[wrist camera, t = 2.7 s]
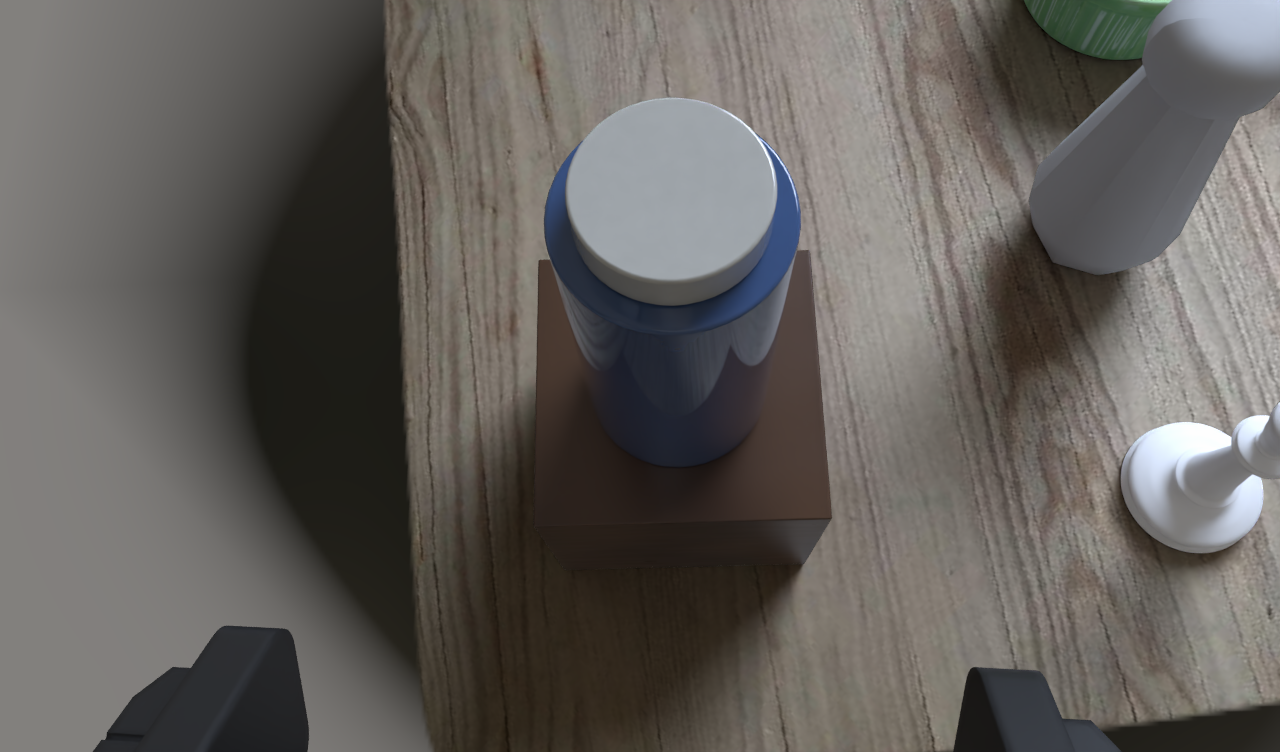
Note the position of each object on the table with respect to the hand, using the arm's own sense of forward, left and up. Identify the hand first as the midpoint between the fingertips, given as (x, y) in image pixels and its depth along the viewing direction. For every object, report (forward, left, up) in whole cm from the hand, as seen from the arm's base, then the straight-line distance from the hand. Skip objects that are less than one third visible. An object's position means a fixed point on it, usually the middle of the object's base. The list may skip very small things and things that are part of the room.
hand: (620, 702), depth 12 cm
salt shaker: (+18, +19, -26) cm, 37 cm away
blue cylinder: (+1, +10, -18) cm, 21 cm away
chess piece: (+20, +8, -26) cm, 34 cm away
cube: (+1, +10, -26) cm, 28 cm away
